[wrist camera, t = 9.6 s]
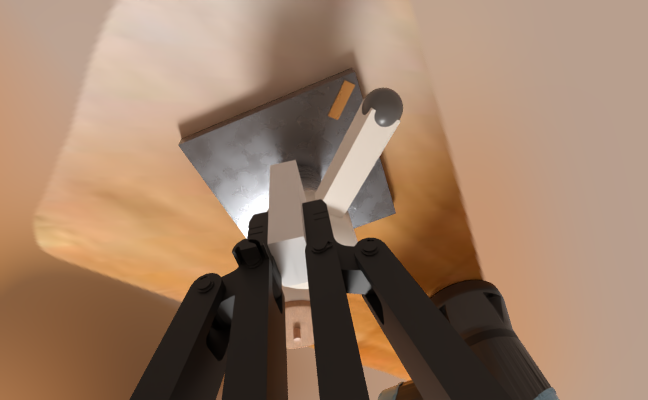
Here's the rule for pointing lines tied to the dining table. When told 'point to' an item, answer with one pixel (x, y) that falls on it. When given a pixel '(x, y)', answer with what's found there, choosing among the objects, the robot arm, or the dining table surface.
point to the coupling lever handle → (356, 161)
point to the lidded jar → (298, 318)
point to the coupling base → (285, 150)
